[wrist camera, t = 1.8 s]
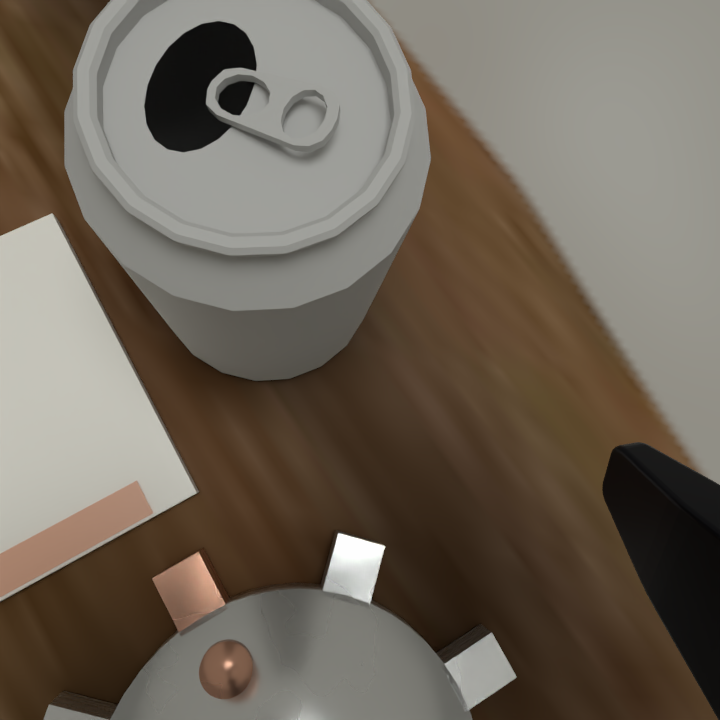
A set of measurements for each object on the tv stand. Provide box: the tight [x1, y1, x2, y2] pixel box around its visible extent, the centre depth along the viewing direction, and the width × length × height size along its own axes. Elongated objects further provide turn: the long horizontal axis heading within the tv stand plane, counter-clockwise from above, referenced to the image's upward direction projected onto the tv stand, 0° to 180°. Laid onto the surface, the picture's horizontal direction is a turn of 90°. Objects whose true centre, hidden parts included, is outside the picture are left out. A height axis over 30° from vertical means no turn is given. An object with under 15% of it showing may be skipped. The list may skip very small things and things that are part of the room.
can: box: [65, 0, 431, 381], centre depth 17 cm, size 8×8×12 cm
